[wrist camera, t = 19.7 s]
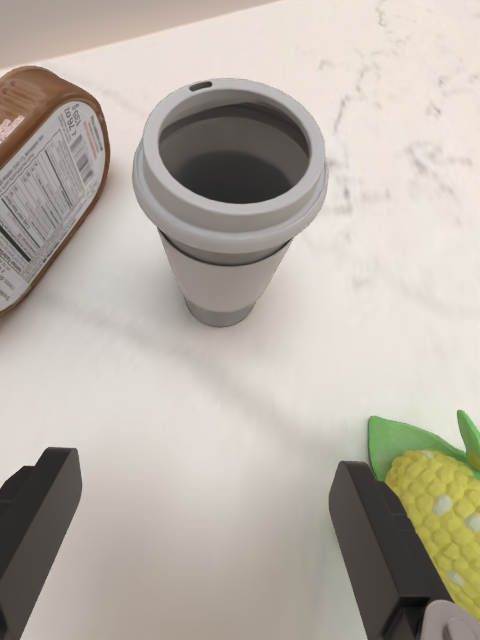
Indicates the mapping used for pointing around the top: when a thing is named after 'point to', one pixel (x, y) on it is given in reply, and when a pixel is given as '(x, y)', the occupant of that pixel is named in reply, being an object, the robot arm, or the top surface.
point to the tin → (44, 172)
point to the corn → (437, 497)
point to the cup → (229, 188)
